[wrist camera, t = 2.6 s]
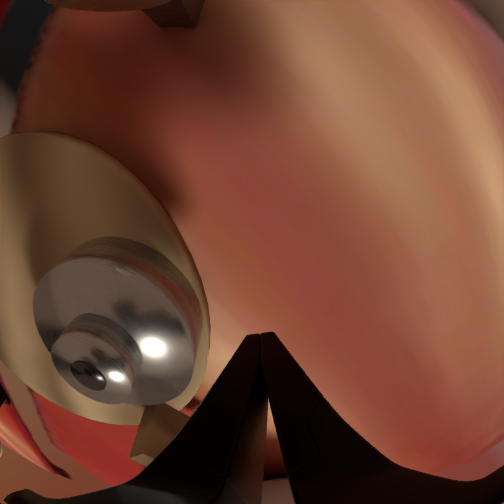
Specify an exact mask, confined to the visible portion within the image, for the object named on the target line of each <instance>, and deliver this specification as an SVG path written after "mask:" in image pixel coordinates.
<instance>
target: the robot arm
mask: <svg viewBox="0 0 504 504" xmlns="http://www.w3.org/2000/svg"><path fill="white" fill-rule="evenodd" d="M268 399H269V403H270V407H271V412H272V416H273V420H274V424H275V428H276V432H277V437H278V441H279V445H280V449H281V453H282V457H283V461H284V465H285V469H286V473H287V477H288V481H289V485H290V489H291V493H292V497H293V501H294V504H504V465H503V466H502V467H500V468H499V469H497V470H496V471H494V472H493V473H491V474H490V475H488V476H486V477H485V478H482V479H479V480H475V481H457V480H452V479H448V478H443V477H439V476H435V475H431V474H427V473H423V472H419V471H416V470H412V469H409V468H405V467H402V466H400V465H398V464H396V463H394V462H392V461H391V460H389V459H388V458H387V457H385V456H384V455H383V454H382V453H380V452H379V451H378V450H377V449H376V448H375V447H373V446H372V445H371V444H370V443H369V442H368V441H366V440H365V439H364V438H363V437H362V436H361V435H360V434H358V433H357V432H356V431H355V430H354V429H353V428H352V427H351V426H350V425H349V424H348V423H347V422H346V421H344V420H343V419H342V418H341V416H340V415H339V414H338V413H337V412H336V411H335V410H334V408H333V407H332V406H331V405H330V404H329V402H328V401H327V400H326V399H325V398H324V397H323V395H322V394H321V392H320V391H319V390H318V389H317V387H316V386H315V385H314V384H313V382H312V381H311V380H310V378H309V377H308V376H307V375H306V373H305V372H304V371H303V369H302V368H301V367H300V366H299V364H298V363H297V362H296V360H295V359H294V358H293V356H292V355H291V354H290V353H289V351H288V350H287V349H286V347H285V346H284V345H283V343H282V342H281V341H280V339H279V338H278V337H277V335H276V334H275V333H274V332H265V333H261V335H260V334H250V335H247V336H246V337H245V338H244V340H243V341H242V343H241V344H240V346H239V347H238V349H237V350H236V352H235V353H234V355H233V356H232V358H231V359H230V361H229V362H228V364H227V365H226V367H225V368H224V370H223V371H222V373H221V374H220V376H219V377H218V379H217V380H216V382H215V383H214V384H213V386H212V387H211V389H210V390H209V392H208V393H207V395H206V396H205V398H204V399H203V400H202V402H201V403H200V405H199V406H198V408H197V411H195V412H194V413H193V414H192V416H191V417H190V419H189V420H188V421H187V423H186V424H185V425H184V427H183V428H182V429H181V430H180V432H179V433H178V434H177V435H176V436H175V437H174V439H173V440H172V441H171V442H170V443H169V444H168V445H167V446H166V447H165V448H164V449H163V450H162V451H161V452H160V453H159V454H158V455H157V457H156V458H155V459H154V460H153V461H152V462H151V463H150V464H149V465H148V466H147V467H146V468H145V469H144V470H143V471H141V472H140V473H139V474H138V475H137V476H135V477H134V478H133V479H131V480H129V481H128V482H126V483H123V484H121V485H117V486H114V487H110V488H107V489H103V490H100V491H96V492H92V493H87V494H83V495H78V496H74V497H69V498H63V499H52V498H46V497H43V496H41V495H39V494H37V493H35V492H33V491H31V490H29V489H24V490H21V491H16V492H13V493H11V494H9V495H8V496H7V497H6V498H5V499H4V501H5V502H6V503H8V504H261V500H262V488H263V475H264V461H265V446H266V431H267V414H268ZM3 402H4V403H6V404H7V405H10V403H11V402H10V401H9V399H8V397H7V396H6V394H5V392H4V391H3V389H2V387H1V386H0V407H1V405H2V404H3ZM0 504H1V503H0Z"/></svg>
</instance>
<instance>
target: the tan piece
mask: <svg viewBox="0 0 504 504" xmlns="http://www.w3.org/2000/svg"><path fill="white" fill-rule="evenodd" d="M111 236H114V237H123V238H127V239H131V240H135V241H138V242H140V243H143V244H145V245H147V246H149V247H151V248H153V249H155V250H156V251H158V252H159V253H161V254H162V255H164V256H165V257H166V258H168V259H169V260H170V261H171V262H172V263H173V264H175V265H176V267H177V268H178V269H179V270H180V271H181V272H182V273H183V274H184V276H185V277H186V278H187V279H188V281H189V282H190V284H191V286H192V287H193V289H194V291H195V293H196V295H197V297H198V299H199V302H200V305H201V309H202V316H203V329H202V334H201V338H200V343H199V347H198V352H197V356H196V361H195V365H194V370H193V374H192V378H191V381H190V383H189V385H188V386H187V388H186V389H185V390H184V391H183V392H182V393H181V394H180V395H179V396H177V397H176V398H174V399H172V400H170V401H168V402H165V403H161V404H156V405H132V404H126V403H121V404H115V405H114V404H105V403H101V402H97V401H95V400H92V399H90V398H88V397H86V396H84V395H82V394H81V393H79V392H78V391H76V390H75V389H74V388H73V387H71V386H70V385H69V384H68V383H67V382H66V381H65V380H64V379H63V378H62V377H61V375H60V374H59V373H58V371H57V369H56V368H55V366H54V364H53V361H52V357H51V354H50V352H49V351H48V350H47V348H46V346H45V345H44V343H43V341H42V339H41V337H40V335H39V332H38V330H37V327H36V324H35V319H34V314H33V297H34V292H35V289H36V287H37V284H38V283H39V281H40V280H41V278H42V277H43V276H44V275H45V274H46V273H47V272H48V271H50V270H51V269H52V268H53V267H54V266H55V265H57V264H58V263H59V262H60V261H61V260H63V259H64V258H65V257H66V256H68V255H69V254H70V253H71V252H73V251H74V250H75V249H76V248H78V247H79V246H80V245H82V244H84V243H85V242H87V241H90V240H92V239H95V238H100V237H111ZM210 329H211V325H210V317H209V308H208V302H207V298H206V295H205V291H204V287H203V283H202V280H201V277H200V275H199V272H198V270H197V267H196V265H195V262H194V260H193V257H192V255H191V253H190V251H189V249H188V247H187V245H186V244H185V242H184V240H183V238H182V236H181V234H180V232H179V231H178V229H177V227H176V226H175V224H174V223H173V222H172V220H171V219H170V217H169V216H168V214H167V213H166V211H165V210H164V208H163V207H162V205H161V204H160V203H159V202H158V201H157V199H156V198H155V197H154V196H153V195H152V194H151V192H150V191H149V190H148V189H147V188H146V187H145V186H144V184H143V183H142V182H141V181H140V180H139V179H138V178H137V177H136V176H134V175H133V174H132V173H131V172H130V171H129V170H128V169H127V168H126V167H125V166H123V165H122V164H121V163H120V162H119V161H117V160H116V159H115V158H113V157H112V156H110V155H109V154H107V153H106V152H104V151H103V150H101V149H100V148H98V147H97V146H95V145H92V144H90V143H88V142H86V141H84V140H82V139H80V138H78V137H75V136H71V135H67V134H64V133H60V132H53V131H32V132H24V133H18V134H13V135H7V136H5V137H2V138H0V360H1V361H2V362H3V363H4V364H5V365H6V366H7V367H8V368H9V369H10V370H11V371H12V372H13V373H14V374H15V375H16V376H17V377H18V378H20V380H22V381H23V382H24V383H25V384H26V385H28V386H29V387H30V388H31V389H33V390H34V391H35V392H37V393H38V394H40V395H41V396H43V397H44V398H46V399H47V400H49V401H51V402H52V403H54V404H56V405H58V406H60V407H62V408H64V409H66V410H68V411H70V412H72V413H75V414H77V415H80V416H83V417H86V418H88V419H92V420H96V421H100V422H104V423H110V424H117V425H139V428H138V431H137V434H136V437H135V441H134V444H133V447H132V451H131V454H130V459H132V460H134V461H136V462H138V463H140V464H142V465H144V466H146V467H147V466H148V465H149V464H150V463H151V462H152V461H153V460H154V459H155V458H156V457H157V455H158V454H159V453H160V452H161V451H162V450H163V449H164V448H165V447H166V446H167V445H168V444H169V443H170V442H171V441H172V440H173V439H174V437H175V436H176V435H177V434H178V433H179V432H180V430H181V429H182V428H183V427H184V425H185V424H186V423H187V421H188V420H189V419H190V417H189V416H187V415H185V414H183V413H181V412H180V410H181V409H182V408H183V407H184V406H185V405H187V404H188V403H189V402H190V400H191V399H192V398H193V396H194V395H195V394H196V392H197V391H198V389H199V386H200V384H201V382H202V380H203V377H204V372H205V368H206V364H207V358H208V353H209V347H210Z"/></svg>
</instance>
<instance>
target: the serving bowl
mask: <svg viewBox="0 0 504 504" xmlns="http://www.w3.org/2000/svg"><path fill="white" fill-rule="evenodd" d="M261 504H294V501H293V497H292V493H291V489H290V485H289V481H288V477H285V478H277V479H271V480H266V481H263V488H262V500H261Z"/></svg>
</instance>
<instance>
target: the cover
mask: <svg viewBox="0 0 504 504" xmlns="http://www.w3.org/2000/svg"><path fill="white" fill-rule="evenodd" d="M33 314H34V319H35V324H36V327H37V330H38V332H39V335H40V337H41V339H42V341H43V343H44V345H45V346H46V348H47V350H48V351H49V352H50V354H51V357H52V361H53V364H54V366H55V368H56V369H57V371H58V373H59V374H60V375H61V377H62V378H63V379H64V380H65V381H66V382H67V383H68V384H69V385H70V386H71V387H73V388H74V389H75V390H76V391H78V392H79V393H81V394H82V395H84V396H86V397H88V398H90V399H92V400H95V401H97V402H101V403H105V404H114V405H115V404H121V403H126V404H132V405H156V404H161V403H165V402H168V401H170V400H172V399H174V398H176V397H177V396H179V395H180V394H181V393H182V392H183V391H184V390H185V389H186V388H187V386H188V385H189V383H190V381H191V378H192V374H193V370H194V365H195V361H196V356H197V352H198V347H199V343H200V338H201V334H202V329H203V316H202V309H201V305H200V302H199V299H198V297H197V295H196V293H195V291H194V289H193V287H192V286H191V284H190V282H189V281H188V279H187V278H186V277H185V276H184V274H183V273H182V272H181V271H180V270H179V269H178V268H177V267H176V265H175V264H173V263H172V262H171V261H170V260H169V259H168V258H166V257H165V256H164V255H162V254H161V253H159V252H158V251H156V250H155V249H153V248H151V247H149V246H147V245H145V244H143V243H140V242H138V241H135V240H131V239H127V238H123V237H114V236H111V237H100V238H95V239H92V240H90V241H87V242H85V243H84V244H82V245H80V246H79V247H78V248H76V249H75V250H74V251H73V252H71V253H70V254H69V255H68V256H66V257H65V258H64V259H63V260H61V261H60V262H59V263H58V264H57V265H55V266H54V267H53V268H52V269H51V270H50V271H48V272H47V273H46V274H45V275H44V276H43V277H42V278H41V280H40V281H39V283H38V284H37V287H36V289H35V292H34V297H33Z"/></svg>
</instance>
